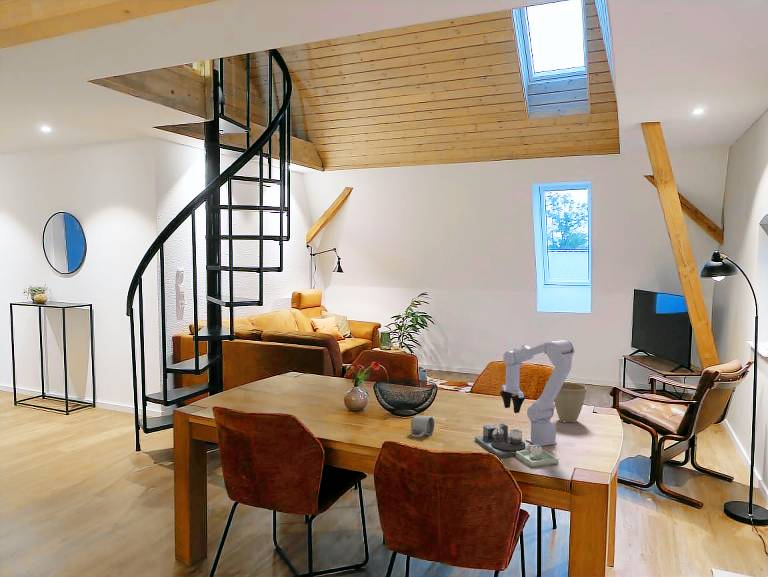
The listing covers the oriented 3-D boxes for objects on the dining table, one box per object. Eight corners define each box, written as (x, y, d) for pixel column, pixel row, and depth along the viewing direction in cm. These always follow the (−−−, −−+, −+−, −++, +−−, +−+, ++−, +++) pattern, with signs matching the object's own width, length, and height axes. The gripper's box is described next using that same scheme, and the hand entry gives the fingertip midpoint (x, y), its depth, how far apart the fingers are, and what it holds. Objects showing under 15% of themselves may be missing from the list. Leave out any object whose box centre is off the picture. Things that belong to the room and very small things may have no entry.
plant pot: (587, 426, 251) (588, 391, 250) (552, 424, 254) (553, 389, 253) (582, 416, 266) (584, 382, 265) (549, 414, 269) (550, 381, 267)
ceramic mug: (417, 429, 247) (417, 411, 246) (434, 432, 243) (434, 414, 242) (406, 436, 238) (406, 418, 237) (423, 440, 234) (423, 422, 233)
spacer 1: (517, 439, 227) (518, 428, 227) (524, 443, 223) (524, 432, 223) (508, 441, 226) (508, 429, 226) (514, 444, 222) (514, 433, 221)
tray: (540, 453, 219) (540, 448, 219) (558, 463, 209) (558, 458, 208) (515, 456, 216) (515, 451, 215) (532, 467, 205) (532, 462, 205)
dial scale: (509, 436, 238) (509, 422, 237) (536, 453, 219) (537, 438, 219) (474, 440, 233) (475, 426, 232) (499, 458, 214) (500, 442, 213)
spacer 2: (538, 456, 214) (538, 444, 214) (543, 460, 210) (544, 448, 210) (527, 457, 214) (527, 445, 213) (532, 461, 209) (533, 449, 209)
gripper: (495, 375, 248) (495, 406, 249) (513, 383, 234) (512, 415, 235) (509, 374, 250) (509, 404, 251) (528, 382, 236) (527, 414, 237)
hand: (511, 410), depth 243 cm, fingers open, 7 cm apart
